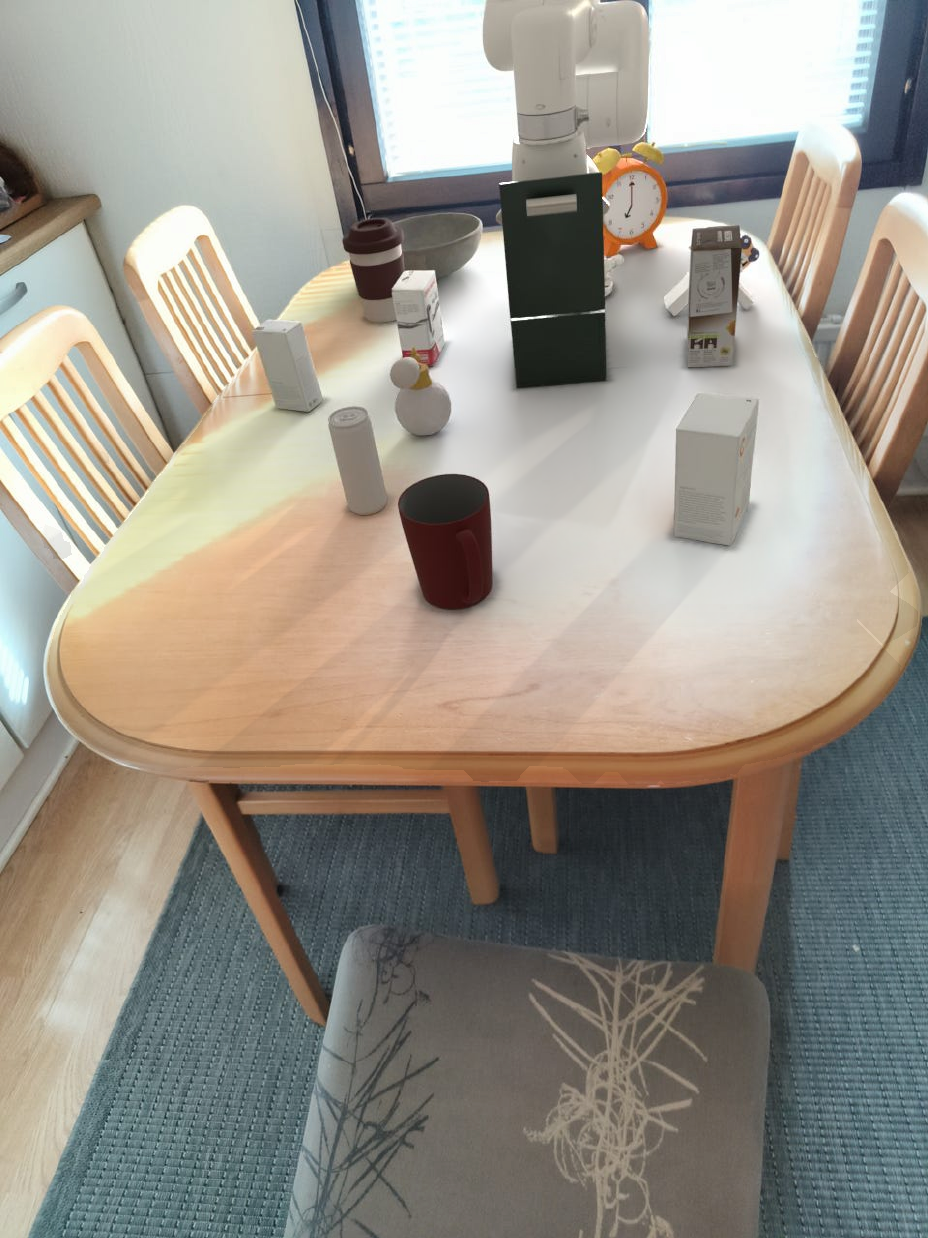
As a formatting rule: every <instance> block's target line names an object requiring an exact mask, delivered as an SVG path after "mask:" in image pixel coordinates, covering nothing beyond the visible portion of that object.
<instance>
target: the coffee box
mask: <svg viewBox="0 0 928 1238" xmlns="http://www.w3.org/2000/svg"><path fill="white" fill-rule="evenodd" d="M691 230H692V240H691V250H690V258H689V270H690V276H689V299H688V304H687V324H686V325H687V326H686V327H687V329H686V331H687V332H686V367H688V368H701V367H703V368H704V367H705V368H706V367H730V366H732V365H733V359H734V350H735V338H736V325H737V315H738V303H739V302H738V292H739V283H740V277H741V273H740V266H741V254H742V242H741V236H742V235H741V228H740V225H739V224H738V225H736V224H735V225H716V226H707V227H701V228H700V227H697V228H692V229H691Z"/></svg>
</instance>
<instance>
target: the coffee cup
mask: <svg viewBox="0 0 928 1238" xmlns="http://www.w3.org/2000/svg"><path fill="white" fill-rule="evenodd" d="M392 223H393V221H391V220H390V219H389V218H386V217H373V218H367V219H363V220H359V221H357V222H355V223H353V224H352V225H350V226H349V230H348V233H346V234H345V235H343V237H342V241H341V242H342V246H343V250H344V251H345V252H346V253H348V256H349V265H350V269H351V272H352V276H353V280H354V283H355V287H356V292H357V295H358V296H359V298H360V302H361V305H362V309H363V313H364V316H365V318H366V320H367V321H370V322H371V323H376V324H383V323H390V322H394V321H397V320H396V314H395V308H394V302H393V297H392V291H393V290H392V288H393V287H394V285H395V284H396V282H397V281H398V279H399V278H400V276H401V275H402V274H403V272H404V271H405V267H404V257H403V252H402V250H401V243H402V242H403V241H404V236H403V230H402V229H401V228H400V227H398V226H394V225H393V224H392Z"/></svg>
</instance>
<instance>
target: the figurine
mask: <svg viewBox="0 0 928 1238" xmlns="http://www.w3.org/2000/svg"><path fill="white" fill-rule="evenodd" d="M692 230H693V229H690V230H689V231H688V232H687V233H686V234H685V236H684V237H683V239H684V241H685V243H686V246H687V248H688V249H689V251H691V240H692ZM741 242H742V254H741V266H740V274H741V273H743V270H745V269H746V268H748V267H749V266H750V265H751V263H755V262H756V261H757V260H758V259H759V257H760V251H759V249H758V248H756V247H755V246H754V244H753V241H752V237H751V236H750V235H748V234H742V235H741ZM689 276H690V269H688V271H686V272H685V276H684V277H683V278H681V280H680V281H679V282H678V283H677V284H675V285H674V286H673V288H671V289H670V290H669V291H668V293H666V294H665V295H664V296H663V302H664V305H665V309H666V310H667V311H668V312H669V313H670V314H671V315H672V316H673V317H676V316H677V315H678V314H679V313H680V312H681V311H682V310H683V309H684V308H685V307H687V306H688V299H689ZM738 303H739V304H740V305H741V306H742V307H743V308H744V309H745V310H748V308H750V307H751V306H752V305H753V304H754V301H753V299H752V297H751V295H750V293H749V291H748V290H747V289H746V288H745V287H744V286H743V284H742V283H741V282H739V292H738Z"/></svg>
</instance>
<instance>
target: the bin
mask: <svg viewBox="0 0 928 1238" xmlns="http://www.w3.org/2000/svg"><path fill="white" fill-rule="evenodd" d="M606 327H607V326H606V309H605V310H596V311H586V312H575V313H569V314H558V315H548V316H532V317H522V318H510V330H511V341H512V352H513V353H512V354H513V361H514V362H513V364H514V376H515V385H516V387H515V388H516V389H523V388H524V389H525V388H536V387H547V386H559V385H560V386H561V385H571V384H582V383H584V384H585V383H595V382H605V381H607V334H606V333H607V330H606Z"/></svg>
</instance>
